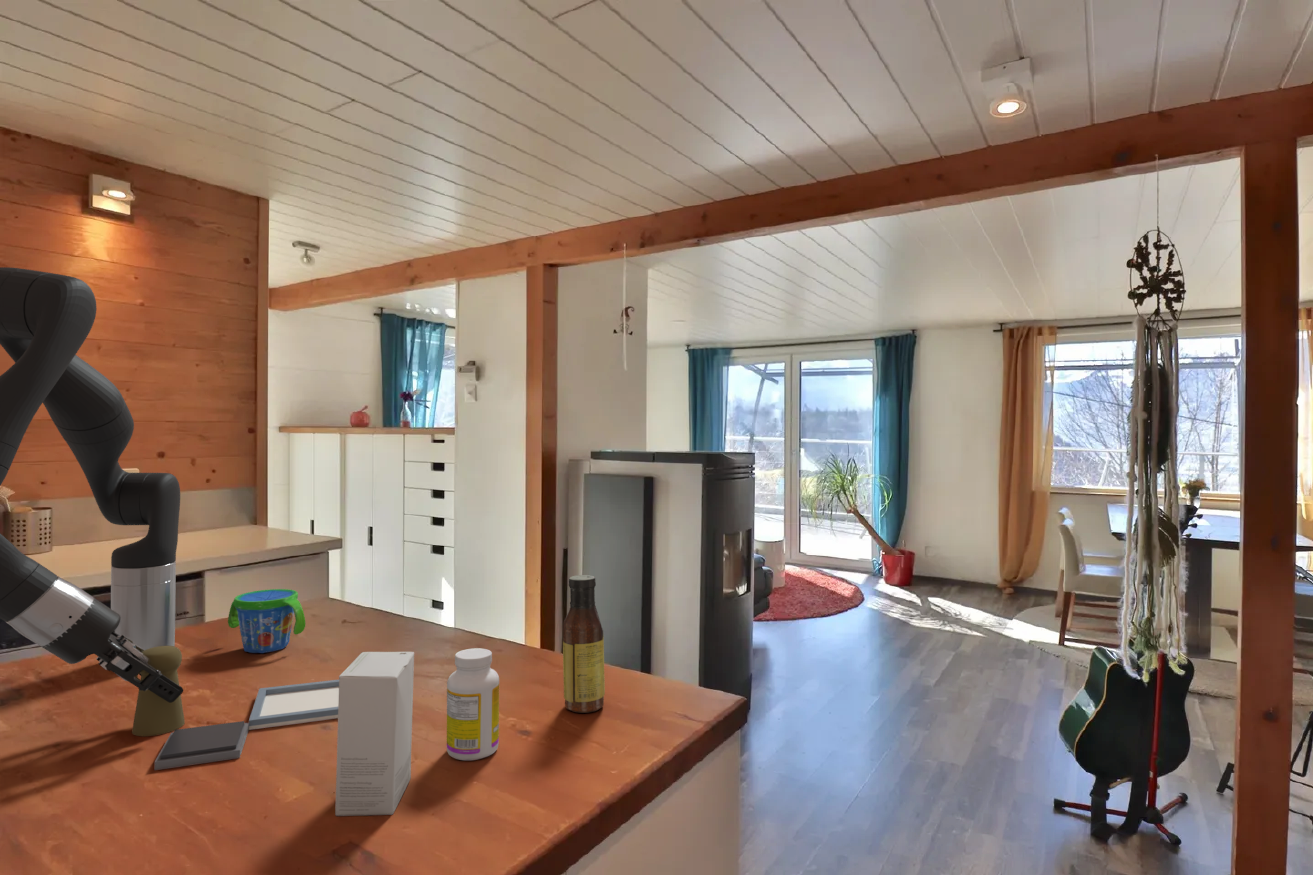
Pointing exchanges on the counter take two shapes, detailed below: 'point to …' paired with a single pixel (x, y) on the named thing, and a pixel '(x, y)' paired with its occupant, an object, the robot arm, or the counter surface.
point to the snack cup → (266, 618)
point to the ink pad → (203, 745)
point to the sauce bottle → (583, 649)
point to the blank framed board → (295, 704)
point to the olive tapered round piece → (151, 708)
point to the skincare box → (374, 733)
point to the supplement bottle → (472, 706)
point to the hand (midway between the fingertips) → (172, 688)
